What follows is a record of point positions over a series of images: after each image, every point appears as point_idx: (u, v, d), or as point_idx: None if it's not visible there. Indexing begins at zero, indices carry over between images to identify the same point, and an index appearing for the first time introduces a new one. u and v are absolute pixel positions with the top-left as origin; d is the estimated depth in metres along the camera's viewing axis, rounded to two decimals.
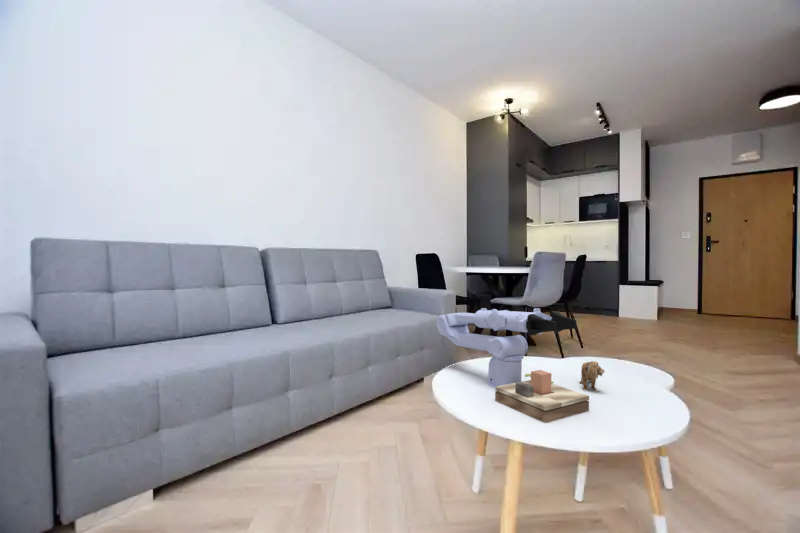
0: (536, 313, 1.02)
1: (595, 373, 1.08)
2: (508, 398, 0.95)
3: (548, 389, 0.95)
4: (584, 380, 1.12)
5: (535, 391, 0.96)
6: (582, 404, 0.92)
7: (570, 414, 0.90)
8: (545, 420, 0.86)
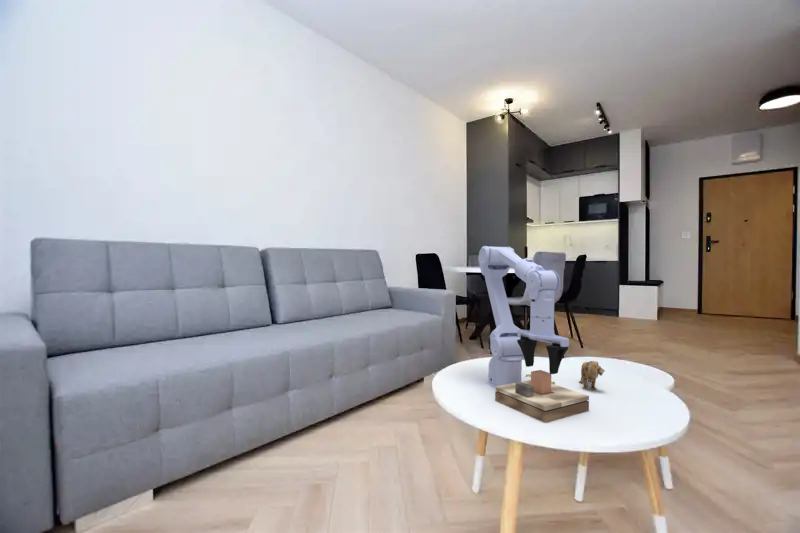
0: None
1: (595, 373, 1.09)
2: (508, 398, 0.95)
3: (548, 389, 0.95)
4: (584, 380, 1.13)
5: (535, 391, 0.96)
6: (582, 404, 0.92)
7: (570, 414, 0.90)
8: (545, 420, 0.86)
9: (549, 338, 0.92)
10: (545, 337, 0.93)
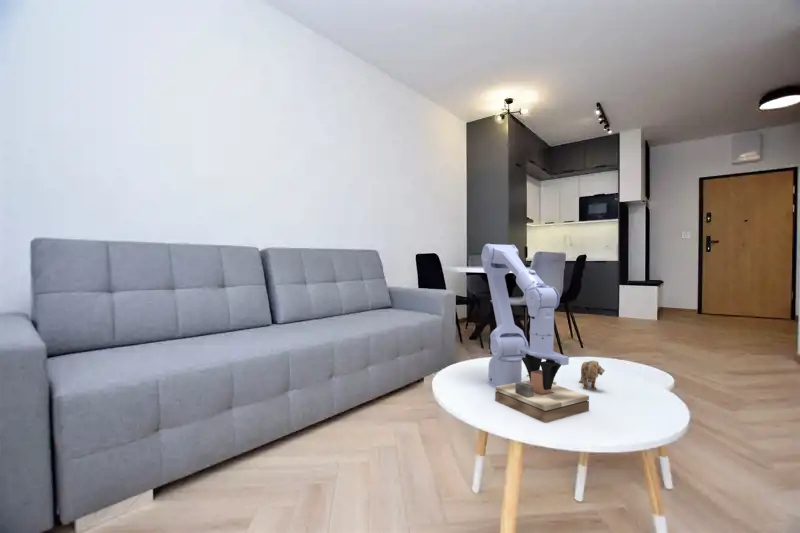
0: None
1: (595, 372, 1.09)
2: (508, 398, 0.95)
3: None
4: (584, 379, 1.13)
5: (535, 391, 0.96)
6: (582, 404, 0.92)
7: (570, 414, 0.90)
8: (545, 420, 0.86)
9: (549, 356, 0.92)
10: (545, 355, 0.93)
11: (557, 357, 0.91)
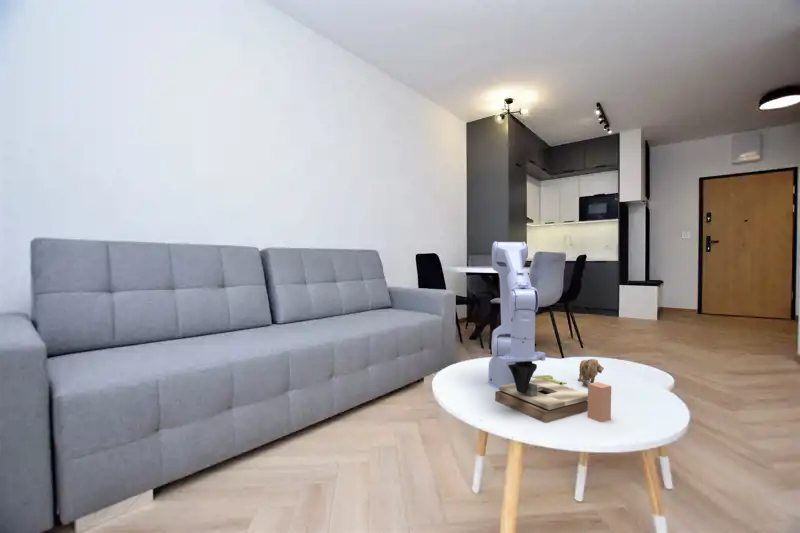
0: (528, 360, 0.90)
1: (595, 370, 1.11)
2: (508, 398, 0.95)
3: (608, 403, 0.88)
4: (584, 377, 1.15)
5: (593, 405, 0.88)
6: (582, 404, 0.92)
7: (570, 414, 0.90)
8: (545, 420, 0.86)
9: (539, 356, 0.93)
10: (537, 356, 0.93)
11: (542, 354, 0.95)
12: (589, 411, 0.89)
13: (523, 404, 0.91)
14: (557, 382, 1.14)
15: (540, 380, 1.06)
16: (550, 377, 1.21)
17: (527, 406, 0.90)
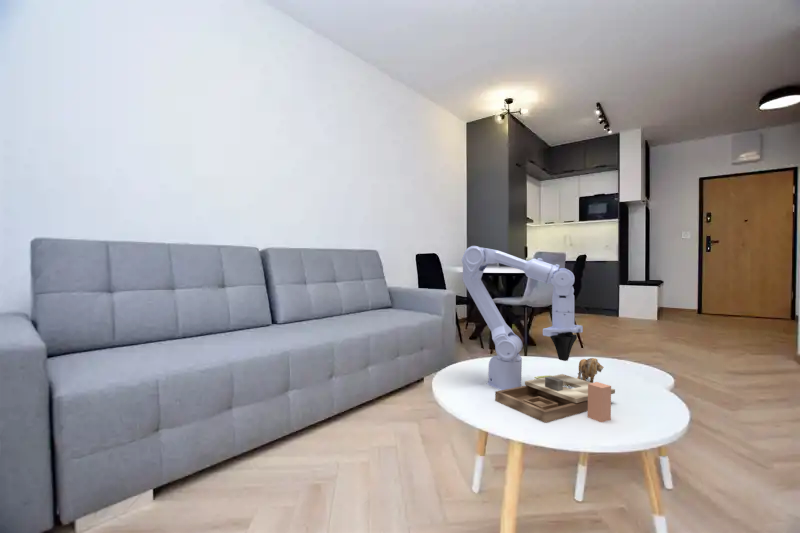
0: None
1: (595, 369, 1.12)
2: (508, 398, 0.95)
3: (608, 403, 0.88)
4: (583, 376, 1.16)
5: (593, 405, 0.88)
6: (582, 404, 0.92)
7: (570, 414, 0.90)
8: (545, 420, 0.86)
9: (577, 328, 1.05)
10: (576, 328, 1.04)
11: (580, 327, 1.07)
12: (589, 411, 0.89)
13: (523, 404, 0.91)
14: None
15: (563, 375, 1.11)
16: None
17: (527, 406, 0.90)
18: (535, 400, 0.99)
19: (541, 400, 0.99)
